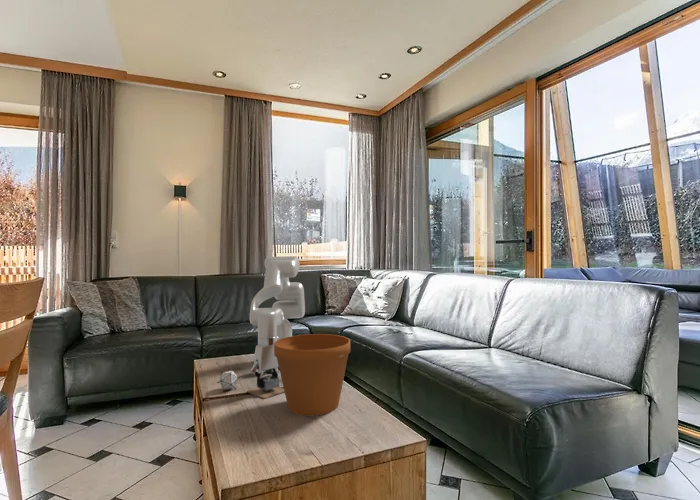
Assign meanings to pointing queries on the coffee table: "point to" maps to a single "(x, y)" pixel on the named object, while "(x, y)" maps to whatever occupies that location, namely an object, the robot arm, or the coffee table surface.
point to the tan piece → (266, 391)
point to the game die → (228, 380)
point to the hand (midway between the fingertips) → (267, 384)
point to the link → (270, 383)
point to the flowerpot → (312, 371)
